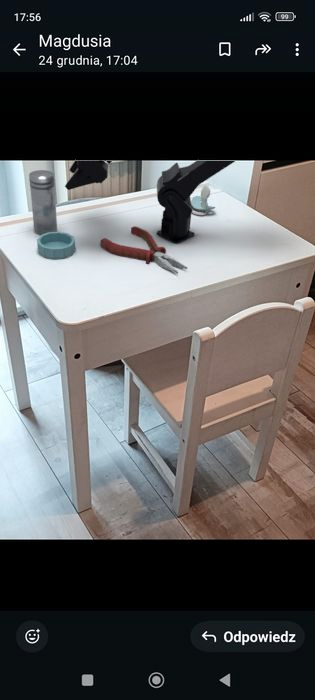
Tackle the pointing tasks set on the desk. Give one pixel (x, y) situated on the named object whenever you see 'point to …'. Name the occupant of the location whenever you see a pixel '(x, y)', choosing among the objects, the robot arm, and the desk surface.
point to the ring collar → (56, 245)
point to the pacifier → (202, 205)
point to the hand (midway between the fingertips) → (68, 179)
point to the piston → (43, 201)
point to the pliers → (143, 251)
